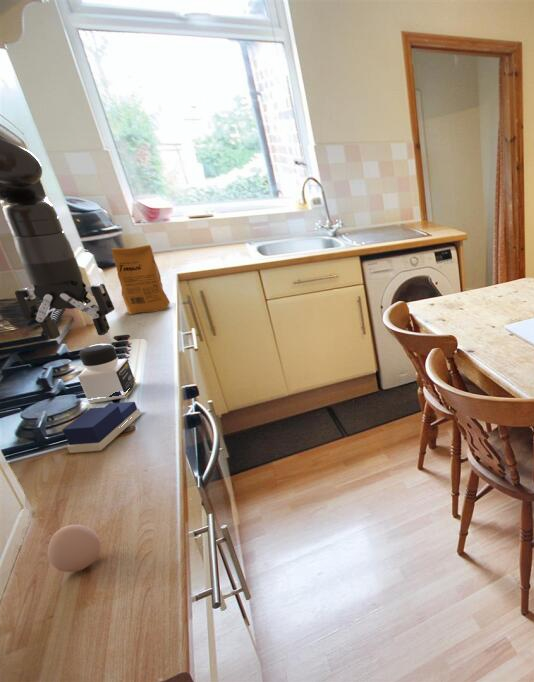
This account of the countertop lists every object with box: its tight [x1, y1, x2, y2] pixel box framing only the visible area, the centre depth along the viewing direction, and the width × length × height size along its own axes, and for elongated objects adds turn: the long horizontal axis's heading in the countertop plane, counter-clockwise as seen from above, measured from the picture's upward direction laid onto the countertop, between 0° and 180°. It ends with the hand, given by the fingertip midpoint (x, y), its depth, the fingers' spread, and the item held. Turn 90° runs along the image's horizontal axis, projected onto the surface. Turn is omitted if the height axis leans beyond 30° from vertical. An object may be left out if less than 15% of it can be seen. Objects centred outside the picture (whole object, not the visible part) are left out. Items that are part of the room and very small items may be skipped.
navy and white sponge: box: [61, 401, 142, 454], centre depth 93 cm, size 13×5×5 cm, turn 8°
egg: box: [46, 524, 102, 573], centre depth 63 cm, size 5×5×7 cm
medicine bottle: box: [77, 343, 137, 404], centre depth 106 cm, size 7×7×12 cm
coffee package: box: [111, 244, 171, 315], centre depth 159 cm, size 10×12×22 cm
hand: (79, 335), depth 95 cm, fingers open, 8 cm apart
